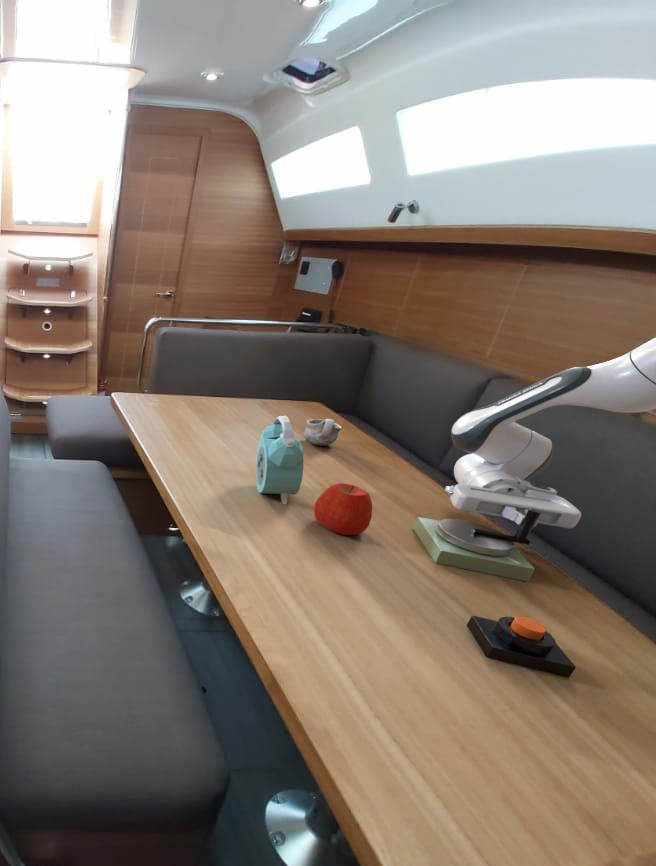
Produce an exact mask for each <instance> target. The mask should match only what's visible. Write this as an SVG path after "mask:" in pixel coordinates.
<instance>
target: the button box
mask: <svg viewBox="0 0 656 866" xmlns="http://www.w3.org/2000/svg"><path fill="white" fill-rule="evenodd" d="M514 619H515V617H513V616H501V617H499V619H498V620H494V619H490V618H485V617H483V616H482V617H481V616H477V615H471V616H470V618H469V620H468V622H467V623H466V627H467V628H468V630H469V631H470V633H471V635H472V636H473V639H474V640H475V642H476V643H477V645H478V646H479V648H480V649H481V651H482V653H483V654H484V656H485V657H486V658H487V659H491V660H495V661H499V662H502V663H507V664H510V665H514V666H519V667H523V668H527V669H531V670H535V671H538V672H543V673H547V674H551V675H554V676H560V677H562V678H566V679H568V678H569V679H570V677H571V676H572V674H573V673H574V671H575V670H576V668H577V667H576V665H575V664H574V663H573V661H571V659H570V658H569V657H568V655H566V653H565V652H564V651H563V650H562V648H561V647H560V646H559V645H558V643H557V641H556V639H555V638H554V637H553V635H552V634H551V633H550V632H548V631H547V630H546V632H545V634H544V635H543V637H542V638H541V640H539V641H537V640H532V639H528V638H526V637H524V636H521V635H519V634H517V633H516V632H515V631H513V630H512V629H511V628H510V626H511V624H512V622H513V621H514Z"/></svg>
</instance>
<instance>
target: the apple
mask: <svg viewBox="0 0 656 866" xmlns="http://www.w3.org/2000/svg"><path fill="white" fill-rule="evenodd" d="M313 510H314V511H313V513H314V518H315V520H316V522H317V523H318V524H320V525H321V526H323V527H324V528H326V529H327V530H330V531H332V532H333V533H337V534H340V535H344V536H355V535H360V534H363V533H364V532H365V531H366V530H367V529H368V527H369V526H370V523H371V520H372V517H373V516H372V514H373V501H372V498H371V496H370V494H369V492H368V491H366V490H365V489H363V488H361V487H359V486H358V485H354V484H350V483H341V482H340V483H335V484H331V485H330V486H329V487H327V488H326V489H325V490H324V491H323V492H322V493H321V494H320V495H319V496H318V498H317V499H316V501H315V503H314V507H313Z"/></svg>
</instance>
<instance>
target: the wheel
mask: <svg viewBox="0 0 656 866" xmlns="http://www.w3.org/2000/svg"><path fill="white" fill-rule="evenodd" d="M541 513H542V512H541V511H539V510H537V509H532V508H530V509H529V510H528V512H527V514H526V515H525V517H524V519H523V521H522V523H521V524H520V525H518V528H517V530H516V531H515V534H514V535H511V534H506V533H502V532H500V531H499V530H496V529H494V528H491V527H490V526H487V525H484V524H480V523H478V522H473V521H470V520H465V519H459V518H445V519H442V520H439V521H440V522H439V524H438V527H437V532H438V534H439V535H440V536H441V537H443V538H444V539H445V540H447V541H449V542H451V543H452V544H455V545H457V546H459V547H461V548H464V549H467V550H470V551H473V552H477V553H481V554H485V555H492V556H504V555H508V554H509V553H510V552H511V550H512V549H513V547H515V544H514V543H516V544H521V545H527V546H528V545H530V543H531V540H530V539H529V538H528V537H529V535H530V533H531V532H532V530H533V528H535V527H534V525H535V523H536V521H537V520H538V518H539V516H540V514H541Z"/></svg>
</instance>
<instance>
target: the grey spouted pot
mask: <svg viewBox="0 0 656 866" xmlns="http://www.w3.org/2000/svg"><path fill="white" fill-rule="evenodd" d="M341 430H342V426H341V425H339V424H338V423H336V422H335V420H334V419H331V418H326V419H323V418H322V419H321V418H312V419H308V420H307V421H306V428H305V430H304V433H303V438H304V439H305V440H306V442H308V443H310V444H312V445H315V446H321V447H327V446H330V445H332V444H334V443H335V442H336V441H337V439H338V437H339V432H340V431H341Z"/></svg>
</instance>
